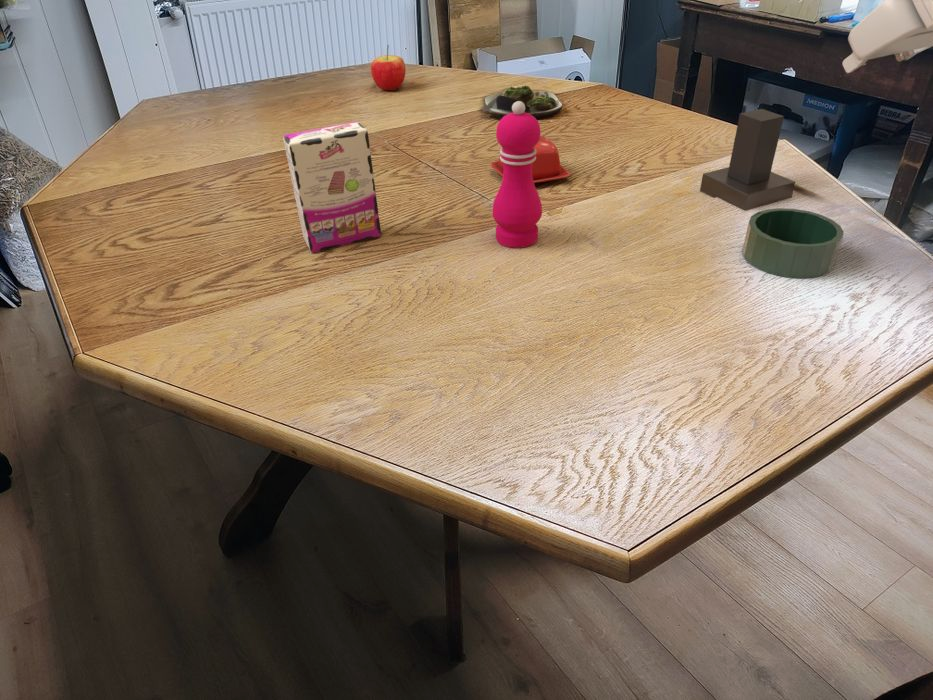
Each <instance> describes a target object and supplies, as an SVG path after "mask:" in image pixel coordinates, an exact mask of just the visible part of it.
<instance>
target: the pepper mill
mask: <svg viewBox="0 0 933 700" xmlns="http://www.w3.org/2000/svg"><path fill="white" fill-rule="evenodd" d="M512 111H513V113H509V114H507V115H505V116H504V117H503V118H502V119H501V120H500V119H499V122H498V124H497V126H496V129H495V130H496V131H495V135H496V136H495V137H496V139H497V143H498V144H499V145H500V146H501V148H500V150H499V158H500V160H501V161H502V162H503V168H504V171H503V177H502V180H501V184H500V187H499V188H498V191H497V193H496V195H495V197H494V199H493V204H492V212H491V213H492V214H491V215H492V218H493V220H494V221H495V223H497V225H496V226H495V240H496V242H497V243H498V244H500V245H502V246H503V247H506V248H513V249H514V248H515V249H518V248H519V249H520V248H526V247H530V246H532V245H534V244H535V243H536V242H537V241H538V239H539V227H538V225H537V224H538V223H539V221H540V220H541V218H542V216H543V206H542V201H541V197H540V195H539V192H538V190H537V188H536V185H535V183H534V182H533V177H532V165H533V162H534V161H535V160H536V156H535V154H536V149H535V148H534V146H535V145H536V144H537V143H538V141H539V139H540V135H541V125H540V123H539V121H538V120H536V118H535V117H533V116H532V115H530V114H528V113H525V112H524V111H525V105H524V103H523V102H521V101H517V102H515V103H514V104H513V105H512ZM500 154H501V156H500Z"/></svg>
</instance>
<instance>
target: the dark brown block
mask: <svg viewBox="0 0 933 700" xmlns="http://www.w3.org/2000/svg"><path fill="white" fill-rule="evenodd" d="M784 118H785V116H784V115H782V114H778V113H775V112H772V111H770V110H766V109H764V108H758V109H754V110H750V111H749V110H748V111H745V112H740V113H739V117H738V121H737V125H736V131H735V136H734V141H733V146H732V151H731V156H730V161H729V166H728V167H729V170H728V176H730V177H732V178H734V179H736V180H738V181H741V182H743V183H745V184H747V185H749V184H753V183H756V182H760V181H764V180H768V179H769V177H770V173H771V172H772V168H773V165H774V160H775V156H776V152H777V147H778V143H779V140H780V134H781V130H782V127H783V122H784Z"/></svg>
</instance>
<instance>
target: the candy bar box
mask: <svg viewBox="0 0 933 700" xmlns="http://www.w3.org/2000/svg"><path fill="white" fill-rule="evenodd" d="M282 141H283V145H284V150H285V155H286V159H287V160H286V161H287V164H288V168H289V175H290V179H291V184H292V189H293V194H294V198H295V203H296V208H297V213H298V218H299V223H300V228H301V233H302V238H303V241H304V242H305V244H306V245H307V247H308V249H309V251H310V253H311V254H314V253H317V252H322V251H326V250H331V249H335V248H340V247H344V246H347V245H352V244H357V243H360V242H364V241H368V240H372V239H373V240H374V239H376V238H379V237H380V238H381V237H382V230H381V229H382V228H381V222H380V221H381V220H380V214H379V207H378V199H377V191H376V185H375V176H374V175H375V174H374V168H373V160H372V154H371V146H370V138H369V131H368V128H366V127H365V126H363V124H361V123H360V122H359V121H352V122H347V123H340V124H334V125H329V126H324V127H318V128H313V129H308V130H304V131H297V132H293V133H292V132H291V133H287V134H282Z"/></svg>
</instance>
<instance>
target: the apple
mask: <svg viewBox="0 0 933 700" xmlns="http://www.w3.org/2000/svg"><path fill="white" fill-rule="evenodd" d="M386 46H387V47H386V55H380V56H377V57H375V58H374V59H372V61H371V65H370V73H371V77H372V80H373V82H374V83H375V85H376V86H377V87H378V88H379V89H381V90H383V89H384V90H383V91H387V90H391V91H393V90H392V89H396V90H397V88H398V89H399V88H400V87H401V86H402V85H403V83H404V80H405V78H406V64H405V63H406V62H405V61H404V59H403V58H402V57H401V56H398V55H394V54H392V55H391V54H389V46H390V45H389V44H387V45H386Z"/></svg>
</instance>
